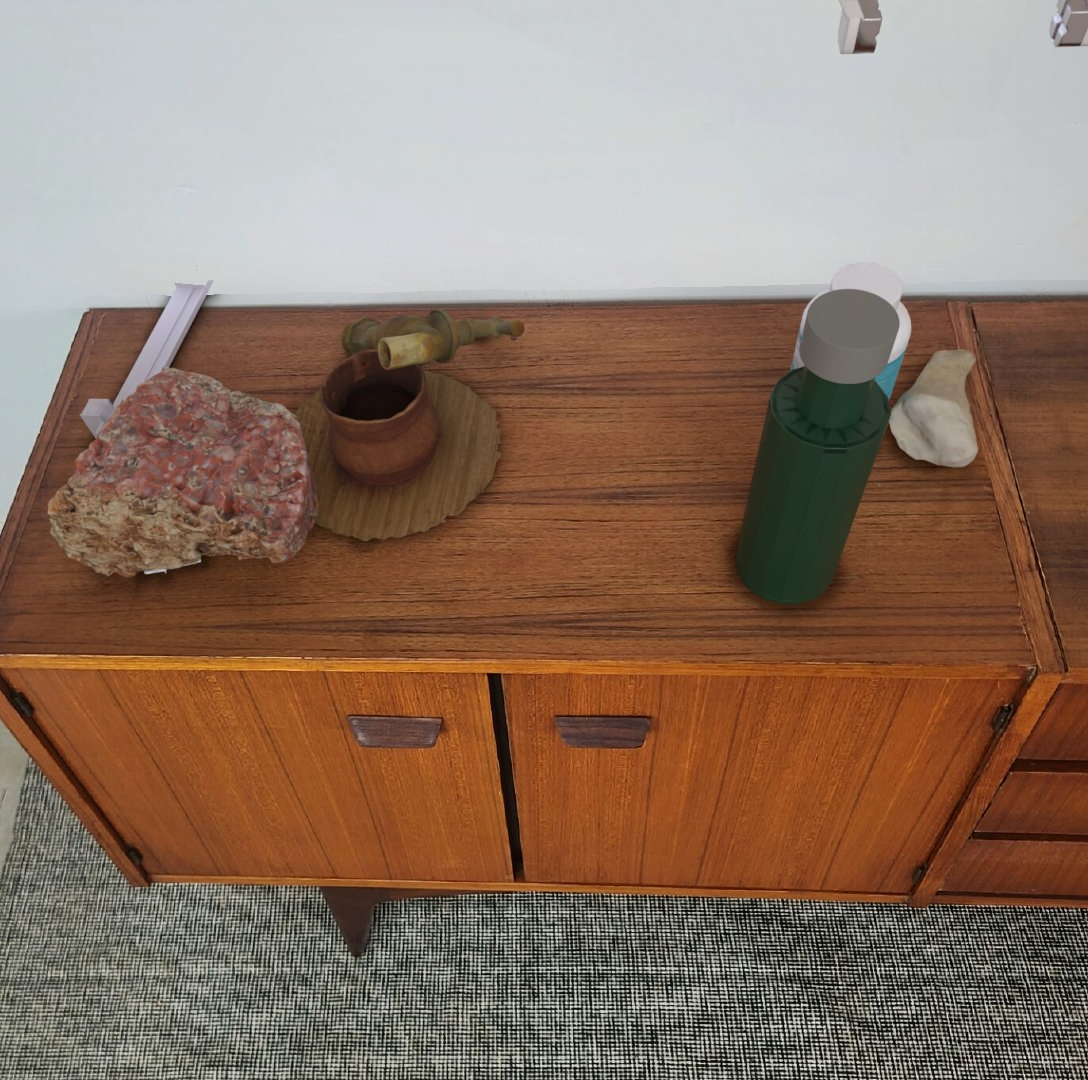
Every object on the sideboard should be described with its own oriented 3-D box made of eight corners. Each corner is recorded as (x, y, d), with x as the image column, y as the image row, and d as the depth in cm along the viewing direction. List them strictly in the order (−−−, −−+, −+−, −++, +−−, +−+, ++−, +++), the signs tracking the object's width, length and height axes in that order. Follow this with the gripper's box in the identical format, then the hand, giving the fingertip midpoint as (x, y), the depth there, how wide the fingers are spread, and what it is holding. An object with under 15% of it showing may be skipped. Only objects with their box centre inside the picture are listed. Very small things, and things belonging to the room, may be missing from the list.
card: (145, 579, 78) (144, 577, 78) (140, 553, 80) (138, 550, 80) (265, 541, 80) (264, 538, 79) (257, 516, 81) (256, 513, 81)
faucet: (294, 321, 86) (448, 300, 94) (302, 374, 88) (453, 348, 96) (388, 324, 75) (553, 300, 83) (395, 384, 76) (557, 355, 84)
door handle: (172, 250, 95) (202, 249, 94) (186, 277, 97) (215, 276, 97) (73, 426, 83) (107, 426, 83) (91, 452, 86) (124, 453, 85)
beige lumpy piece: (969, 479, 79) (989, 433, 75) (881, 468, 80) (896, 422, 76) (968, 372, 85) (986, 325, 81) (886, 363, 86) (900, 316, 82)
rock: (152, 434, 87) (69, 581, 78) (117, 340, 78) (19, 492, 70) (355, 471, 84) (291, 626, 76) (340, 378, 76) (267, 540, 68)
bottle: (828, 527, 77) (899, 312, 61) (838, 606, 74) (916, 398, 57) (733, 525, 78) (777, 311, 62) (738, 603, 74) (786, 397, 58)
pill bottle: (884, 400, 84) (932, 258, 73) (870, 469, 80) (919, 331, 69) (788, 381, 86) (821, 240, 75) (770, 448, 82) (802, 310, 71)
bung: (876, 343, 62) (893, 288, 58) (887, 404, 59) (905, 350, 56) (790, 343, 62) (803, 288, 59) (798, 403, 59) (811, 349, 56)
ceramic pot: (227, 471, 84) (202, 408, 78) (375, 339, 91) (361, 272, 85) (404, 579, 77) (391, 518, 71) (548, 427, 84) (546, 360, 78)
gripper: (781, -293, 37) (734, 89, 48) (1421, -332, 35) (1214, 75, 46) (766, -355, 40) (725, 15, 52) (1347, -393, 38) (1172, 0, 50)
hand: (960, 44), depth 49 cm, fingers open, 8 cm apart
